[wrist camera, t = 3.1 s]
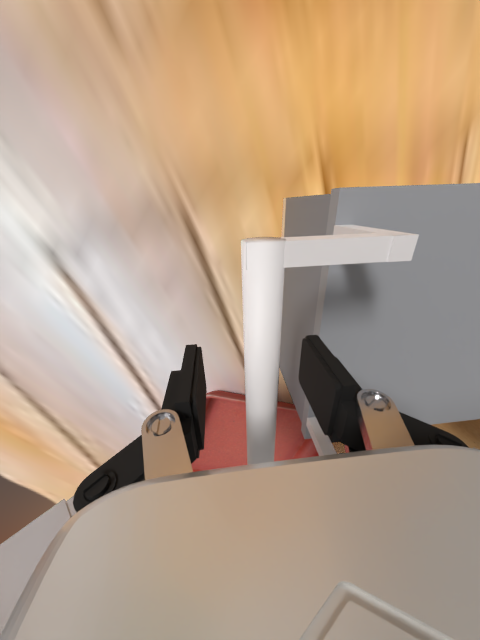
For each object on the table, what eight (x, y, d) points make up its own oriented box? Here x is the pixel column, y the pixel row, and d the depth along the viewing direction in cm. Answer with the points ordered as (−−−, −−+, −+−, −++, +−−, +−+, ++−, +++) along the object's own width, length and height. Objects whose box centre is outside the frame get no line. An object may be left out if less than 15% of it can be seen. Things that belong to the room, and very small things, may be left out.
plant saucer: (282, 479, 38) (288, 502, 35) (171, 468, 34) (167, 493, 31) (337, 399, 31) (350, 420, 28) (203, 372, 26) (202, 393, 23)
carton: (283, 198, 19) (334, 193, 11) (485, 191, 20) (664, 182, 12) (275, 358, 26) (303, 427, 18) (425, 345, 27) (512, 404, 19)
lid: (229, 192, 10) (242, 183, 6) (669, 177, 12) (937, 162, 8) (241, 436, 18) (250, 514, 13) (512, 406, 19) (600, 466, 15)
